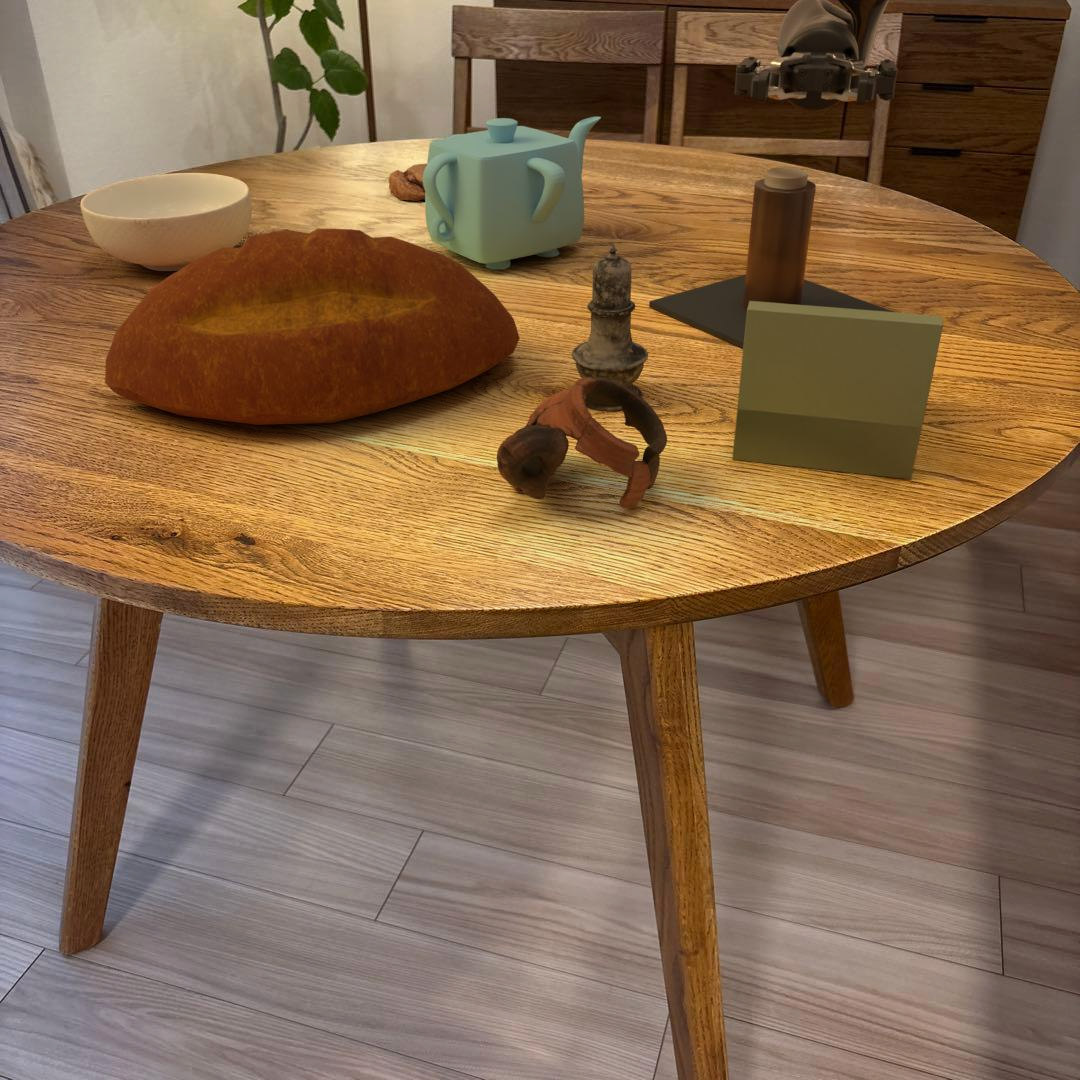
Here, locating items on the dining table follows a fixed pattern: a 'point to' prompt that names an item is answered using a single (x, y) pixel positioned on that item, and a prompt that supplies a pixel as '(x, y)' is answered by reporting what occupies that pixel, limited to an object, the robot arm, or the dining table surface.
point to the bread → (308, 330)
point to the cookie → (408, 183)
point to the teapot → (506, 191)
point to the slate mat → (740, 306)
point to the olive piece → (834, 387)
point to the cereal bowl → (168, 218)
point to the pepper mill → (779, 237)
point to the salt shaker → (611, 329)
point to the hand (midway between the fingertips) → (811, 91)
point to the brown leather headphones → (583, 439)
